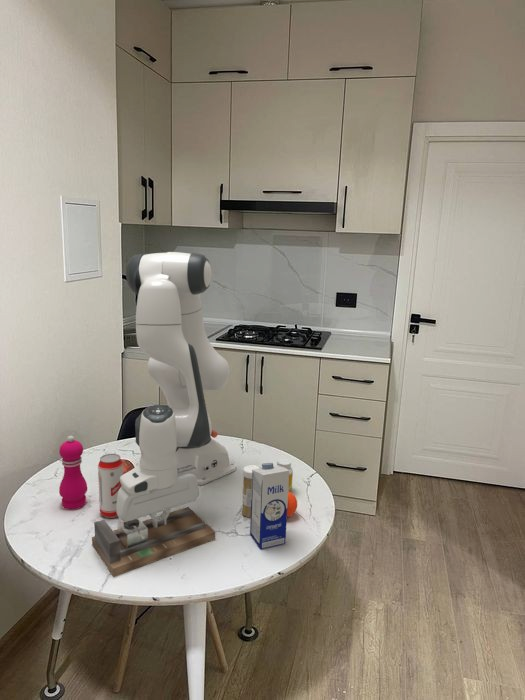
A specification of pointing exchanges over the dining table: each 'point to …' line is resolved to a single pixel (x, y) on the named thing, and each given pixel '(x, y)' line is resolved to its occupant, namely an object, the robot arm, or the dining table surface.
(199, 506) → the dining table surface
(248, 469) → the sprinkles bottle
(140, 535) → the gauge carriage
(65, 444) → the pepper mill
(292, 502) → the clementine
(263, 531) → the milk carton
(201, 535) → the gauge base
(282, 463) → the supplement bottle
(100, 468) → the beer can
